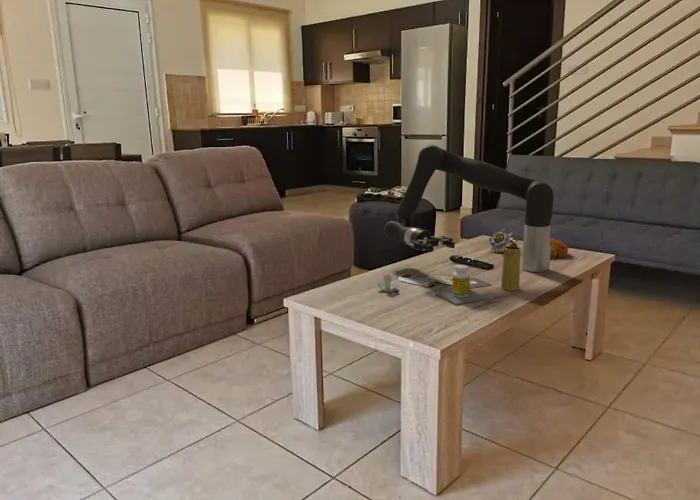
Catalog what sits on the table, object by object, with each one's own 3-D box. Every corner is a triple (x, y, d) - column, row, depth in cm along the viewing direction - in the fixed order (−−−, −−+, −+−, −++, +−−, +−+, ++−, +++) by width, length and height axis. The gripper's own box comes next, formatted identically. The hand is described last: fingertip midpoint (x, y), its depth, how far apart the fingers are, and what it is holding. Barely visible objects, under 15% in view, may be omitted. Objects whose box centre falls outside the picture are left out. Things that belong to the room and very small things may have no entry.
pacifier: (383, 287, 189) (375, 291, 184) (383, 269, 188) (375, 273, 183) (402, 290, 186) (394, 294, 181) (402, 272, 184) (394, 276, 179)
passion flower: (496, 264, 235) (480, 242, 235) (504, 254, 243) (488, 232, 243) (518, 253, 228) (501, 230, 227) (525, 243, 236) (509, 221, 236)
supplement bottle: (459, 298, 173) (460, 269, 171) (448, 294, 178) (449, 265, 175) (472, 296, 175) (473, 267, 173) (462, 291, 180) (463, 263, 178)
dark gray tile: (474, 277, 197) (474, 277, 197) (491, 285, 188) (491, 284, 188) (450, 281, 193) (450, 280, 193) (467, 289, 185) (467, 288, 184)
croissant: (527, 261, 227) (527, 243, 224) (536, 248, 239) (536, 231, 236) (564, 265, 219) (565, 246, 217) (571, 251, 232) (572, 233, 229)
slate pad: (465, 289, 184) (465, 287, 184) (487, 299, 173) (487, 297, 173) (434, 294, 180) (434, 292, 179) (455, 305, 169) (455, 303, 169)
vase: (520, 291, 181) (522, 250, 177) (501, 290, 182) (503, 249, 179) (518, 286, 187) (520, 245, 183) (500, 285, 188) (502, 245, 184)
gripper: (401, 230, 196) (425, 238, 182) (435, 226, 202) (460, 233, 187) (401, 251, 198) (425, 260, 184) (435, 246, 204) (460, 255, 189)
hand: (443, 247), depth 185 cm, fingers open, 8 cm apart
